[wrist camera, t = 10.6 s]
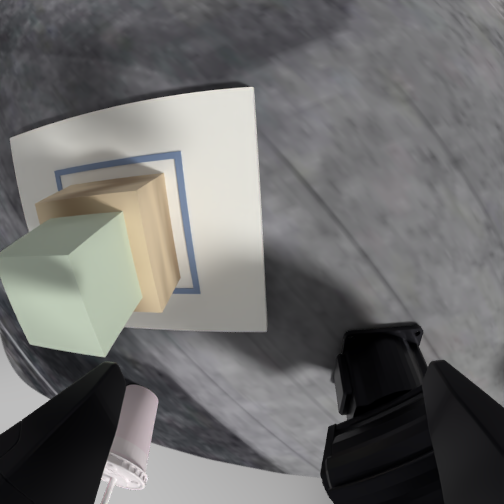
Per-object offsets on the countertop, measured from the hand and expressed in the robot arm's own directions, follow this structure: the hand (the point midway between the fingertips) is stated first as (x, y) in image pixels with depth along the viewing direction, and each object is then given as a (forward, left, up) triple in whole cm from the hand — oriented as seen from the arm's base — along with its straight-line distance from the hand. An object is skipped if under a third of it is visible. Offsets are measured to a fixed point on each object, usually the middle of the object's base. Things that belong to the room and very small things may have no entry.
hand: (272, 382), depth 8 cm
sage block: (+10, 0, -8) cm, 13 cm away
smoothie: (+14, +18, -13) cm, 26 cm away
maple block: (+10, 0, -12) cm, 16 cm away
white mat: (+10, 0, -13) cm, 16 cm away
